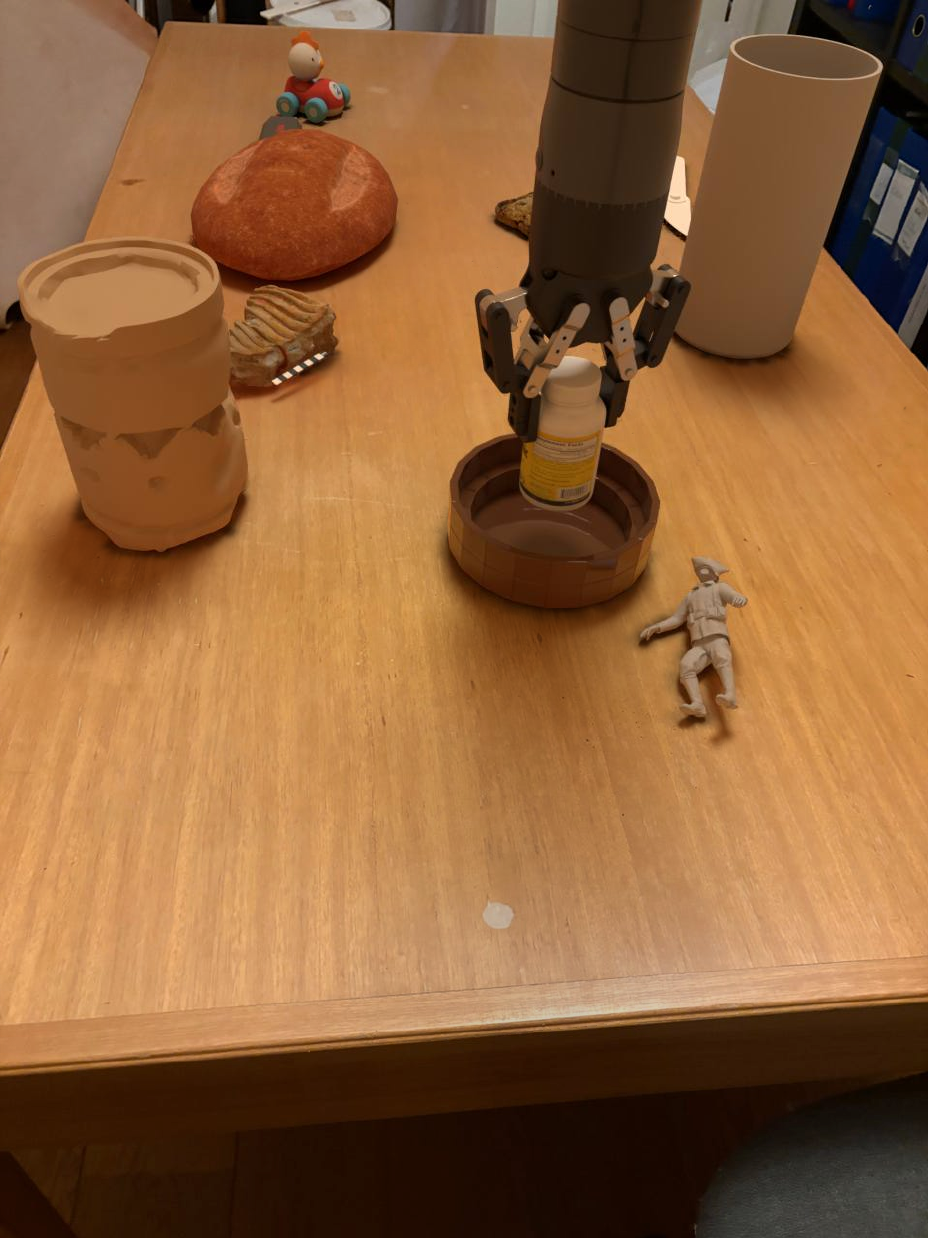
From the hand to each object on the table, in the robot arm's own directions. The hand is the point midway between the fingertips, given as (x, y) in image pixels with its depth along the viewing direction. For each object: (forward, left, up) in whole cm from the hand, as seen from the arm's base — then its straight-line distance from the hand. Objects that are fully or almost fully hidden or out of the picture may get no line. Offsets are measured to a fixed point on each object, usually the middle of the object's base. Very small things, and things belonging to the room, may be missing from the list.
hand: (564, 427), depth 63 cm
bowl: (0, 0, -11) cm, 11 cm away
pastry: (+52, -27, -11) cm, 60 cm away
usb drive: (+83, 0, -11) cm, 84 cm away
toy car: (+96, -8, -11) cm, 97 cm away
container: (+14, +26, -11) cm, 31 cm away
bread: (+59, +4, -11) cm, 60 cm away
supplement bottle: (0, 0, -6) cm, 6 cm away
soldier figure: (-14, -5, -11) cm, 18 cm away
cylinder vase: (+24, -32, -11) cm, 41 cm away
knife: (+55, -43, -11) cm, 71 cm away
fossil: (+30, +13, -11) cm, 34 cm away
